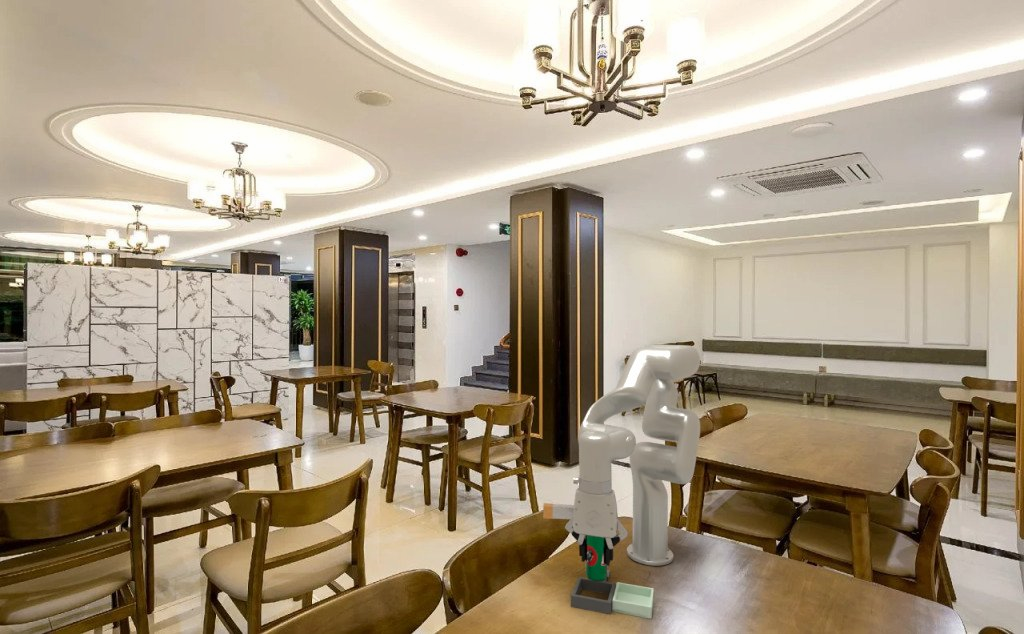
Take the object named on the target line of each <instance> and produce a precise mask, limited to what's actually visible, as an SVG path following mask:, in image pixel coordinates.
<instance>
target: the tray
mask: <svg viewBox="0 0 1024 634" xmlns="http://www.w3.org/2000/svg"><path fill="white" fill-rule="evenodd" d="M654 593H655V592H654V587H647V586H642V585H636V584H630V583H625V582H619V581H617V582H616V589H615V593H614V596H613V603H612V611H611V612H614V613H618V614H625V615H630V616H634V617H639V618H644V619H649V620H651V619H652V617H653V610H654V609H653V608H654V607H653V606H654V598H655V597H654Z"/></svg>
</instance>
